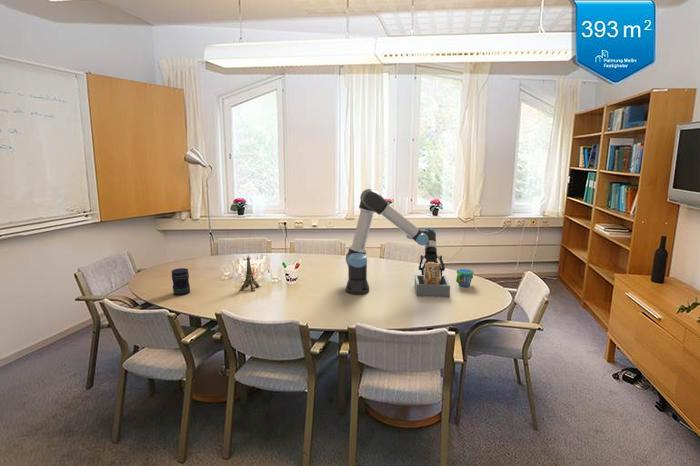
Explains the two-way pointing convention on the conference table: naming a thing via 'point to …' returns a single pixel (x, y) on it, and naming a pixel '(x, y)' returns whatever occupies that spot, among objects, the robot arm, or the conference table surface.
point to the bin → (432, 287)
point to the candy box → (432, 273)
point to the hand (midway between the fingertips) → (432, 279)
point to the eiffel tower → (249, 278)
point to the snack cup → (464, 277)
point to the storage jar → (180, 281)
